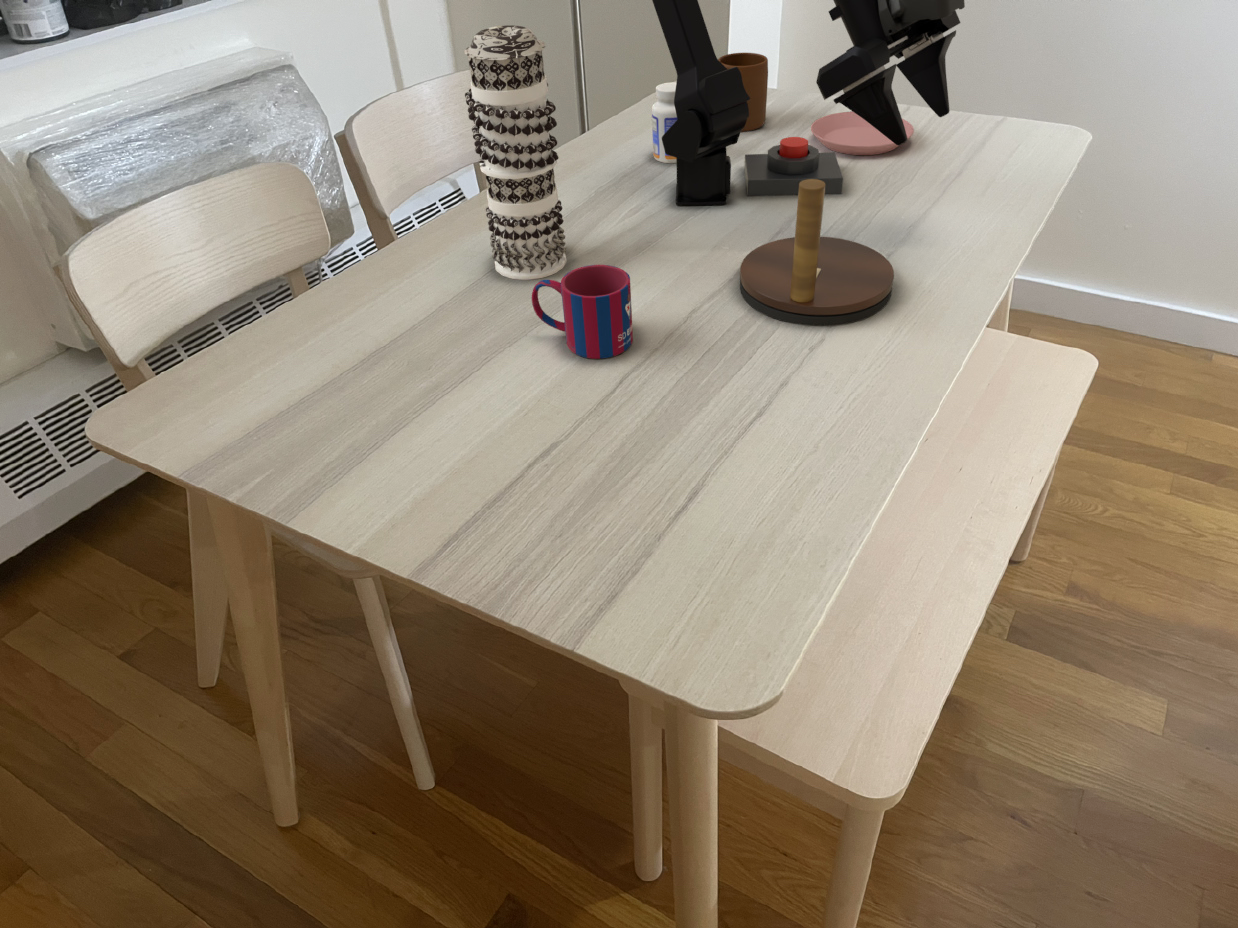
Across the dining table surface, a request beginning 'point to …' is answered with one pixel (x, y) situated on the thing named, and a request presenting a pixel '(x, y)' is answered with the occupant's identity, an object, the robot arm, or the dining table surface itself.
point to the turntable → (816, 266)
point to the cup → (592, 310)
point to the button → (793, 147)
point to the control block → (790, 172)
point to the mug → (751, 84)
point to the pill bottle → (663, 119)
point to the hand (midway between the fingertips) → (924, 128)
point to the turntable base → (813, 319)
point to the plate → (853, 134)
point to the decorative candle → (516, 151)
